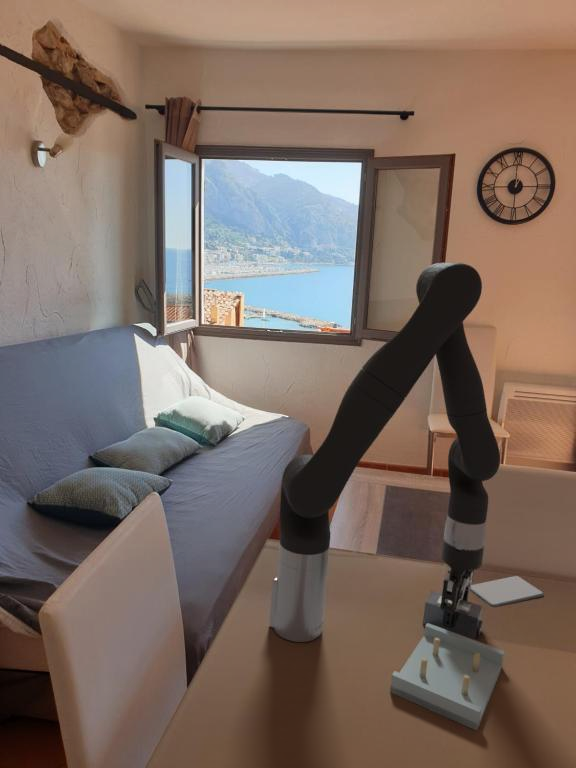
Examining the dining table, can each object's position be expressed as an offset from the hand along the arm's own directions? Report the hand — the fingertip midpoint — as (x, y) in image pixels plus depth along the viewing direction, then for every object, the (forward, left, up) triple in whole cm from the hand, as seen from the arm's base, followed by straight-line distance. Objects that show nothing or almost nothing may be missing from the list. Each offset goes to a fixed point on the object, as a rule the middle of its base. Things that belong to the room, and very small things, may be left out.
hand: (454, 616), depth 115 cm
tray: (+4, -16, -2) cm, 17 cm away
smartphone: (+6, +21, -3) cm, 22 cm away
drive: (0, 0, -2) cm, 2 cm away
